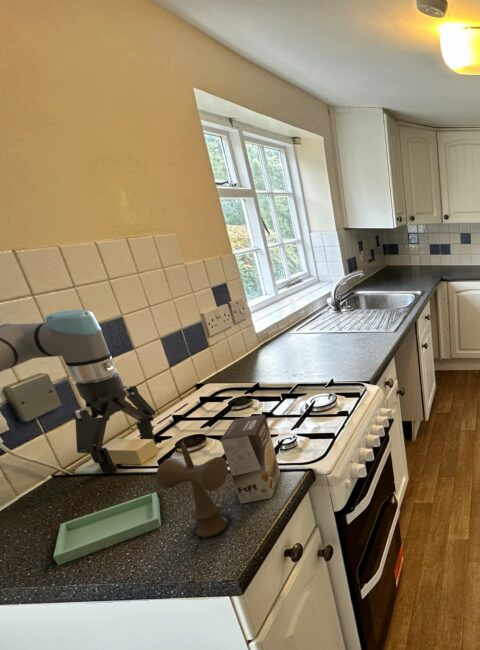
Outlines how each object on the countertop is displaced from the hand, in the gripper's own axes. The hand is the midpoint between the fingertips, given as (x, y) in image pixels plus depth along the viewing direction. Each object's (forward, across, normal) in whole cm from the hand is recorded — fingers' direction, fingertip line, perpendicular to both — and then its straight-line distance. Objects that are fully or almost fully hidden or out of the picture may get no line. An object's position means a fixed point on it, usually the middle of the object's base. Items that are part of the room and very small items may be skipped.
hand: (131, 457), depth 103 cm
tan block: (0, 0, 0) cm, 0 cm away
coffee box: (+1, -11, -40) cm, 41 cm away
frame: (0, -24, -18) cm, 30 cm away
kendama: (+1, -23, -38) cm, 44 cm away
